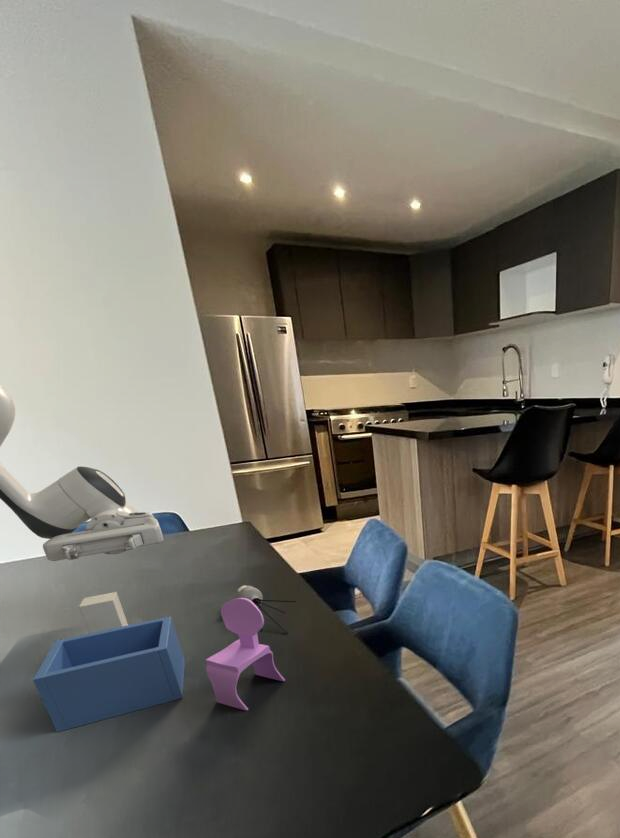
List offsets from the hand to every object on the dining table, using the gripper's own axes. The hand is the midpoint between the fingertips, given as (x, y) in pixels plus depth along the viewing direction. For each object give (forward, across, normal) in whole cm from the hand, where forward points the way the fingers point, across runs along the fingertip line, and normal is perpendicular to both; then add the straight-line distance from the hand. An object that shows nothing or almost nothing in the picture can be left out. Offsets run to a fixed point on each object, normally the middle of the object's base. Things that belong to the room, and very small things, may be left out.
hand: (100, 550), depth 94 cm
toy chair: (+37, +21, +17) cm, 46 cm away
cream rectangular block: (+12, 0, +17) cm, 21 cm away
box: (+27, +3, +17) cm, 32 cm away
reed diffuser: (+11, +25, +17) cm, 32 cm away
